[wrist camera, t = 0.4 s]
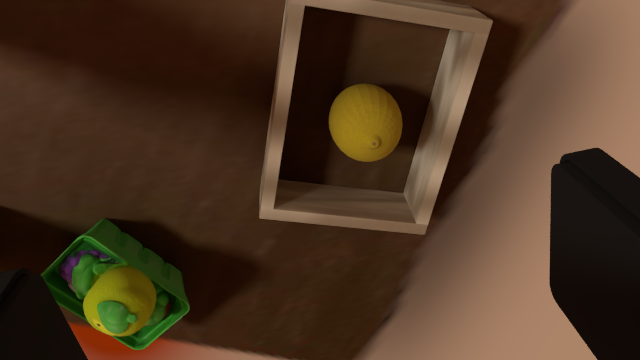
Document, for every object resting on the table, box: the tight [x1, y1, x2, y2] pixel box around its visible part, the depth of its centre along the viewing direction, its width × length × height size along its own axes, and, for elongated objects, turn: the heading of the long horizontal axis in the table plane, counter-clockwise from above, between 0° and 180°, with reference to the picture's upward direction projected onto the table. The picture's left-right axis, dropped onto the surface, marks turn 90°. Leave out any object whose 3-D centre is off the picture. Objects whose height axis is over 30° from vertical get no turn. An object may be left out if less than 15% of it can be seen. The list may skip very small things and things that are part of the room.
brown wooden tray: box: [259, 0, 493, 235], centre depth 42 cm, size 18×14×5 cm
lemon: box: [329, 83, 402, 162], centre depth 41 cm, size 6×6×8 cm
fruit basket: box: [41, 219, 190, 350], centre depth 45 cm, size 11×9×11 cm
